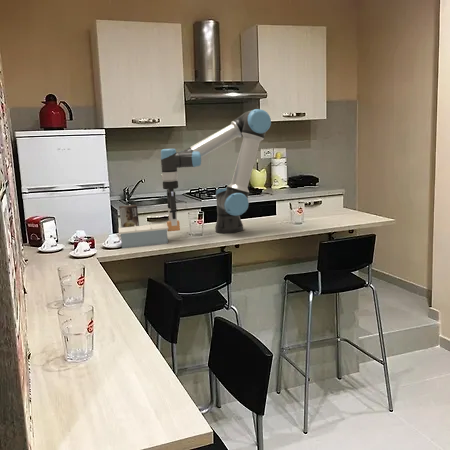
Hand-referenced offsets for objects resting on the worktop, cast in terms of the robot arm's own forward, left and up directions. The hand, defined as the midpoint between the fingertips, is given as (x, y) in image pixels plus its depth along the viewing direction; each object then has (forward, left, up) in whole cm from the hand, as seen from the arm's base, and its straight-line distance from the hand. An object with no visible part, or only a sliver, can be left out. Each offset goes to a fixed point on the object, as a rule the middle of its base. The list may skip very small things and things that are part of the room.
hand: (173, 223), depth 258 cm
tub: (+15, 0, -10) cm, 18 cm away
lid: (+12, 0, -3) cm, 12 cm away
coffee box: (+21, -33, -10) cm, 40 cm away
